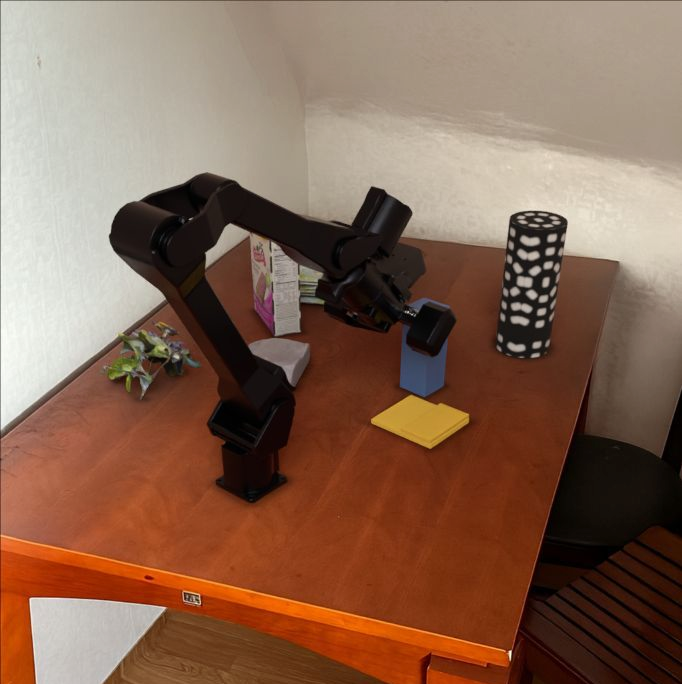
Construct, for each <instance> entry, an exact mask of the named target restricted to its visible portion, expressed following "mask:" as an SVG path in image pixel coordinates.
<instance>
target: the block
mask: <svg viewBox="0 0 682 684" xmlns="http://www.w3.org/2000/svg"><path fill="white" fill-rule="evenodd" d="M427 302H432V303H435V304H438V305H441V306H444V307H446V308H449V309H451V306H450V305H448V304H445V303H442V302H438V301H436V300H432V299H430V298H428V297H424V296H423V297H422V298H420V299H418V300H416V301H414V302H412V303H409V304H407V305H408V306H410V307H413V308H416V309H419V310H420V309H421V307H422V305H423V304H425V303H427ZM406 314H407V313H406ZM409 329H410V326H407V325H405V324H402V332H401V333H402V334H401V353H400V355H401V356H400V373H399V374H400V375H399V388H402V389H404V390H405V391H409V392H410V393H414V394H415V395H418V396H420V397H422V398H426V397H428V396H429V395H431V394H433V393H435V392H436V391H438V390H440V389H442V388H443V387H444V386H445V377H446V364H447V355H448V354H447V351H448V339H449V337H448V338H447V339H446V341H445V343H444V345H443V347H442V349H441V351H440V352H439V354H438V355H437V356H435V357H433V358H431V357H429V356H425V355H423V354H420V353H418V352H415V351H413V350H412V349H411V348H410V347H409V346H408V345H407V344H406V334H407V332H408V331H409Z"/></svg>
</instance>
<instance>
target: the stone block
mask: <svg viewBox="0 0 682 684" xmlns="http://www.w3.org/2000/svg"><path fill="white" fill-rule="evenodd" d="M248 347H249V349H250V350H251V352H252V354H254V355H256V356H259V357H261V358H263V359H265V360H268V361H270V362H272V363H274V364H276V365H279V366H281V367H282V368H283V370H284V371H285V373H286V375H287V378H288V381H289V383H290V384H291V385H292V386H294V387H296V386H297V385H298V383H299V380H300V379H301V377H302V375H303V373H304V371H305V370H306V368H307V366H308V364H309V362H310V359H311V351H310V350H311V349H310V347H311V346H310V343H308V342H306V343H304V342H301V341H297V340H292V339H289V338H277V337H271V338H267V339H259V340H256V341H254V342H250V343H249V344H248Z"/></svg>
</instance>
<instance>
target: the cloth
mask: <svg viewBox="0 0 682 684" xmlns="http://www.w3.org/2000/svg"><path fill="white" fill-rule="evenodd" d="M469 423H470V414H469V413H466V412H464V411H463V410H459V409H457V408H456V407H455V408H454V407H452V406H449V405H447V404H445V403H442V402H439V403H438V404H435V403H432V402H430V401H427V400H425V399H423V398H421V397H418V396H416V395H413V394H410V395H408V396H406V397H405V398H403V399H401V400H400V401H399V402H397V403H395V404H393V405H392V406H390V407H389V408H387V409H385V410H384V411H382V412H380V413H379V414H377V415H376V416H374V417H372V418H371V419H370V424H371V425H375V426H377V427H379V428H381V429H384V430H386V431H388V432H390V433H392V434H395V435H397V436H400V437H401V438H404V439H406V440H409V441H410V442H413V443H416V444H418V445H420V446H423V447H425V448H427V449H429V450H431V449H432V448H434V447H435V446H437V445H439V444H440V443H441V442H443V441H444V440H446V439H447V438H449V437H451V435H453V434H454V433H456V432H458V431H459V430H460V429H462V428H463V427H465V426H466V425H468V424H469Z"/></svg>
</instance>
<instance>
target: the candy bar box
mask: <svg viewBox="0 0 682 684" xmlns="http://www.w3.org/2000/svg"><path fill="white" fill-rule="evenodd" d="M249 245H250V246H249V247H250V259H251V277H252V292H253V295H252V296H253V309H254V311H255V312H256V314H257V315H258V316H259V318H260V320H262V322H263V323H264V325H265V326H266V327H267V328H268V330H269V331H270V332H271V334H272V335H273V337H283V336H288V335H293V334H300V333H302V311H301V310H302V308H301V305H302V303H301V301H300V265H299V264H297V263H296V262H294V261H293V260H292V259H290V258H289V257H288V256H287V255H285V254H284V253H283V251H282V249H281V248H280V247H279V246H278V245H276V244H275V243H273V242H271V241H269V240H267V239H264V238H262V237H260V236H258V235H255V234H253V233H251V232H249Z"/></svg>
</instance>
